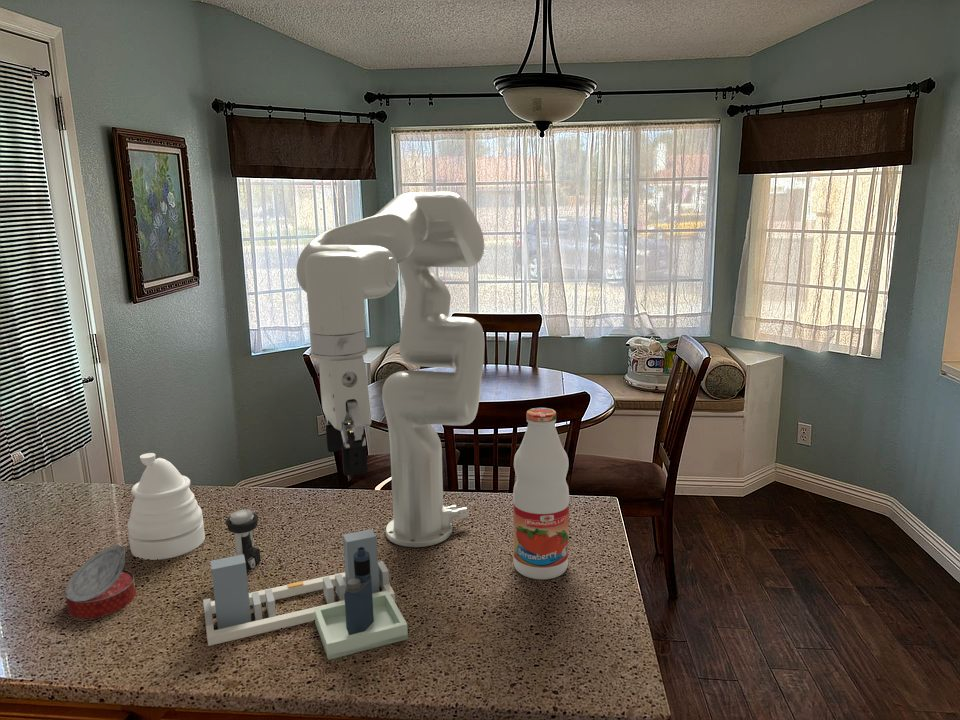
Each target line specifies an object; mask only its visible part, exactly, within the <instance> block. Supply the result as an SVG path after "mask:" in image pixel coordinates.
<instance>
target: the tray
mask: <svg viewBox="0 0 960 720" xmlns="http://www.w3.org/2000/svg"><path fill="white" fill-rule="evenodd" d="M372 598H373V616H374V622H373V623H372V624H371V625H370V626H369V627H368V628H367V629H366V631H364V632H360V633H356V634H352V635H350V634H349V633H348V631H347V628H346V613H345V602H341V603H336V604H332V605H328V606H323V607H319V608H315V609H314V615H315V621H314V623H315V627H316V630H317V633H318V636H319V639H320V641H321V645H322V646H323V649H324V653H325V655H326V658H327V660H328V661H330V660H334V659H338V658H342V657H346V656H349V655H353V654H357V653H360V652H364V651H367V650H368V651H369V650H372V649H376V648H379V647H384V646H387V645H391V644H396V643H400V642H402V641H406V640H409V637H408V636H409V633H408V632H409V631H408V623H407V621H406V620H405V617H404V615H403V614H402V612H401V611H400V609H399V607H398V605H397V604H396V601H394V600H393V598H392V596H391V595H390V593H389V591H388V592H383V593H379V594H375V595H372Z"/></svg>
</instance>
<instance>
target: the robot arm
mask: <svg viewBox="0 0 960 720" xmlns="http://www.w3.org/2000/svg"><path fill="white" fill-rule="evenodd" d="M484 250H485V238H484V234H483V230H482V228H481V226H480V223H479V222H478V220H477V218H476V216H475V214H474V212H473V211H472V208H471V206H470V205H469V204H468V202H467V201H466V199H464V198H463V197H462V196H461V195H459V194H458V193H456V192H453V191H419V192H417V191H416V192H415V191H414V192H413V191H412V192H409V191H408V192H405V193H400V194H398V195H397V196H395V197H394V198H392V199H391V200H390V201H388V203H386V204H385V205H384V206H383V207H382V208H381V209H379V211H377V212H376V213H375V214H374V215H372V216H369V217H365V218H361V219H358V220H355V221H352V222H350V223H349V222H348V223H347V224H342V225H339V226H337V227H333V228H331V229H329V230H326V231H323V232H322V233H321V234H319V235H317V236H315V238H313V239H312V240H311V241H310V242H309V243H307V244H306V245H305V247H304V248H303V250H302V251H301V253H300V255H299V256H298V257H299V258H298V260H297V263H296V279H297V282H298V284H299V286H300V288H301V289H302V290H303V291H304V292H305V294H306V300H307V301H306V302H307V312H308V324H309V325H308V326H309V327H308V328H309V341H310V354H311V357H312V358H314V359H317V360H318V366H319V384H320V385H319V386H320V399H321V400H320V401H321V408H322V411H323V414H324V416H325V424H326V425H325V438H326V449H327V451H328V452H329V453H334V452H338V451H339V452H341V458H342V471H343V474H344V476H345V477H349V476H354V475H355V476H356V475H360V474H365V473H367V472H368V457H367V456H368V455H367V443H366V442H367V441H366V433H365V432H364V431H365V429H364V428H365V427H366V428H368V427H370V426H371V424H372V414H371V413H372V412H371V406H370V405H371V403H370V394H369V385H368V376H367V371H366V370H367V369H366V365H365V360H364V359H365V358H364V356H365V355H367V353H368V337H367V322H366V306H365V303H366V302H365V300H369V299H370V300H371V299H379V298H383V297H385V296H387V295H388V294H389V293H391V292H392V291H393V289H394V288H395V287H396V284H397V282H398V279H399V271H400V274H401V277H402V279H403V280H402V281H403V283H404V284H403V285H404V287H405V288H404V289H405V301H404V302H405V303H404V309H403V310H404V311H403V314H402V323H401V329H400V335H399V344H398V345H399V349H398V350H399V356H400V358H401V360H402V361H403V362H405V364H408V365H411V366H414V367H415V366H416V367H426V368H427V367H428V368H442V369H443V368H444V369H445V368H447V369H455V371H454V372H453V371H451V372H449V371H448V372H447V371H435V370H434V371H432V370H414V369H413V370H400V371H396V372H394V373H392V374H390V375H389V376H388V377H387V378H386V379H385V381H384V384H383V385H382V390H381V391H382V392H381V395H382V404H383V408H384V414H385V418H386V423H387V427H388V434H389V435H388V436H389V438H388V439H389V448H390V449H389V450H390V452H389V453H390V474H391V475H390V476H391V494H392V496H391V497H392V514H393V515H392V516H393V519H391V520H390V521H389V522H388V524H386V527H385V536H386V539H388V540H389V542H390V543H391V542H392V544H394V545H398V546H401V547H406V548H425V547H431V546H434V545H437V544H440V543H442V542H443V541H446V540H447V539H448V538H450V536H452V533H453V524H452V522H454V520H457V519H459V520H460V519H464V518H468V516H469V512H468V508H467V507H466V506H465V507H460V508H458V507H457V504H452V505H451V504H450V505H449V506H445V505H444V486H443V485H444V484H443V450H442V449H443V448H442V442H441V439H440V437H439V435H438V433H437V431H436V430H435V428H434V427H433V425H440V426H441V425H443V426H467V425H470V424H471V423H473V421H474V420H475V419H476V416H477V414H478V411H479V410H478V409H479V405H480V404H479V403H480V395H481V385H482V377H483V367H484V358H485V347H486V346H485V345H486V342H485V334H484V330H483V327H482V324H481V323H480V322H479V321H477V319H474V318H473V317H466V316H449V315H450V307H451V306H450V305H451V301H452V300H451V299H452V297H451V293H450V290H449V288H448V287H447V285H446V284H445V282H444V281H443V280H442V279H441V277H439V275H438V274H437V273H436V272H435V271H434V269H433V268H470V267H474V266H476V265H478V264H479V263H480V261H481V260H482V258H483V256H484Z"/></svg>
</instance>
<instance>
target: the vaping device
mask: <svg viewBox="0 0 960 720" xmlns="http://www.w3.org/2000/svg"><path fill="white" fill-rule="evenodd" d="M353 556H354V573H355V578H350V579H348V580H347V582H346V583H347V586H346V587H345V593H344V598H345V613H346V628H347V631H348V633H349V634H350V635H352V634H356V633H360V632H364V631H366V629H367V628H368V627H369V626H370V625H371V624H372V623H373V622H374V616H373V598H372V577H371V571H370V553H369V552H367V551H365V548H364V547H359V548H358V552H356V553H354V555H353Z"/></svg>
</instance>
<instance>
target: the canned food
mask: <svg viewBox="0 0 960 720" xmlns="http://www.w3.org/2000/svg"><path fill="white" fill-rule="evenodd" d="M125 557H126V549H125V546H122V545H120V544H119V545H118V544H115V545H111V546H108V547H105V548H104V549H102V550H100V551H99V552H97V553H96V554H94V555H93V556H91V558H89V559H87V560H86V561H84V563H82V565H81V566H80V567H79V568H78V569H76V570H75V572H74V573H73V575H72V576H71V578H70V579H69V581H68V582H67V585H66V588H65V591H64V596H65V601H66V606H67V612H68V614H69V615H70V616H72V617H75V618H78V619H79V618H80V619H94V618H93V617H95V618H99V616H100V617H103V615H104V616H107V615H106V614H108V613H111V614H113V613H115V612H114V611H116V612H118V611H120V610H122V609H123V607H124V608H125V607H127V606H128V605H129V604H131V603H132V602H133V600H135V598H136V596H137V595H136V594H137V591H136V586H135V585H136V584H135V577H134V574H133V573H132V572H130V571H129V570H127V569H124V566H125V564H126V561H125V560H126V559H125ZM135 595H136V596H135ZM134 597H135V598H134ZM131 601H132V602H131ZM130 602H131V603H130ZM127 604H128V605H127ZM126 605H127V606H126ZM121 608H122V609H121ZM119 609H120V610H119ZM117 610H118V611H117ZM112 612H113V613H112ZM108 615H109V614H108Z"/></svg>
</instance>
